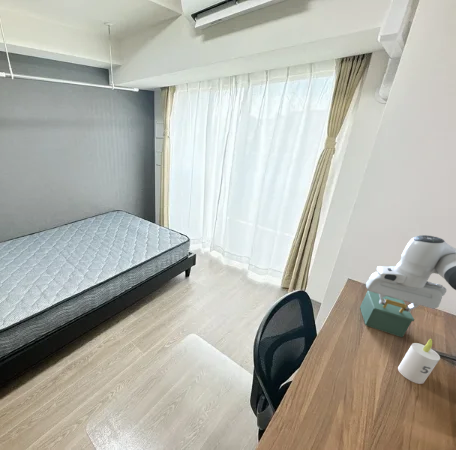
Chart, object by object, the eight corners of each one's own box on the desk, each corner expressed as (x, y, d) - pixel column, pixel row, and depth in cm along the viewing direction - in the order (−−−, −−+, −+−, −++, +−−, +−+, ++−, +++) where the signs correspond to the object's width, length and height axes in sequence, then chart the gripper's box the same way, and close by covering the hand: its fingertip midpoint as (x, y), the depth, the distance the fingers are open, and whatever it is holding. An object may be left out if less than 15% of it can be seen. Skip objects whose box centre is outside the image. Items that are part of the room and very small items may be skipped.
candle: (404, 380, 78) (426, 345, 72) (394, 363, 84) (413, 330, 78) (429, 387, 76) (453, 352, 70) (417, 369, 82) (438, 336, 76)
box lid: (413, 321, 90) (419, 311, 89) (374, 309, 96) (378, 300, 94) (401, 301, 101) (406, 292, 100) (367, 291, 106) (371, 282, 105)
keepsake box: (402, 337, 94) (412, 320, 91) (365, 325, 100) (373, 308, 96) (393, 317, 105) (401, 301, 101) (359, 307, 110) (367, 291, 106)
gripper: (444, 282, 87) (426, 312, 92) (372, 265, 96) (359, 293, 101) (453, 291, 82) (433, 323, 87) (376, 272, 91) (362, 302, 96)
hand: (393, 307), depth 94 cm, fingers closed on box lid, 6 cm apart
